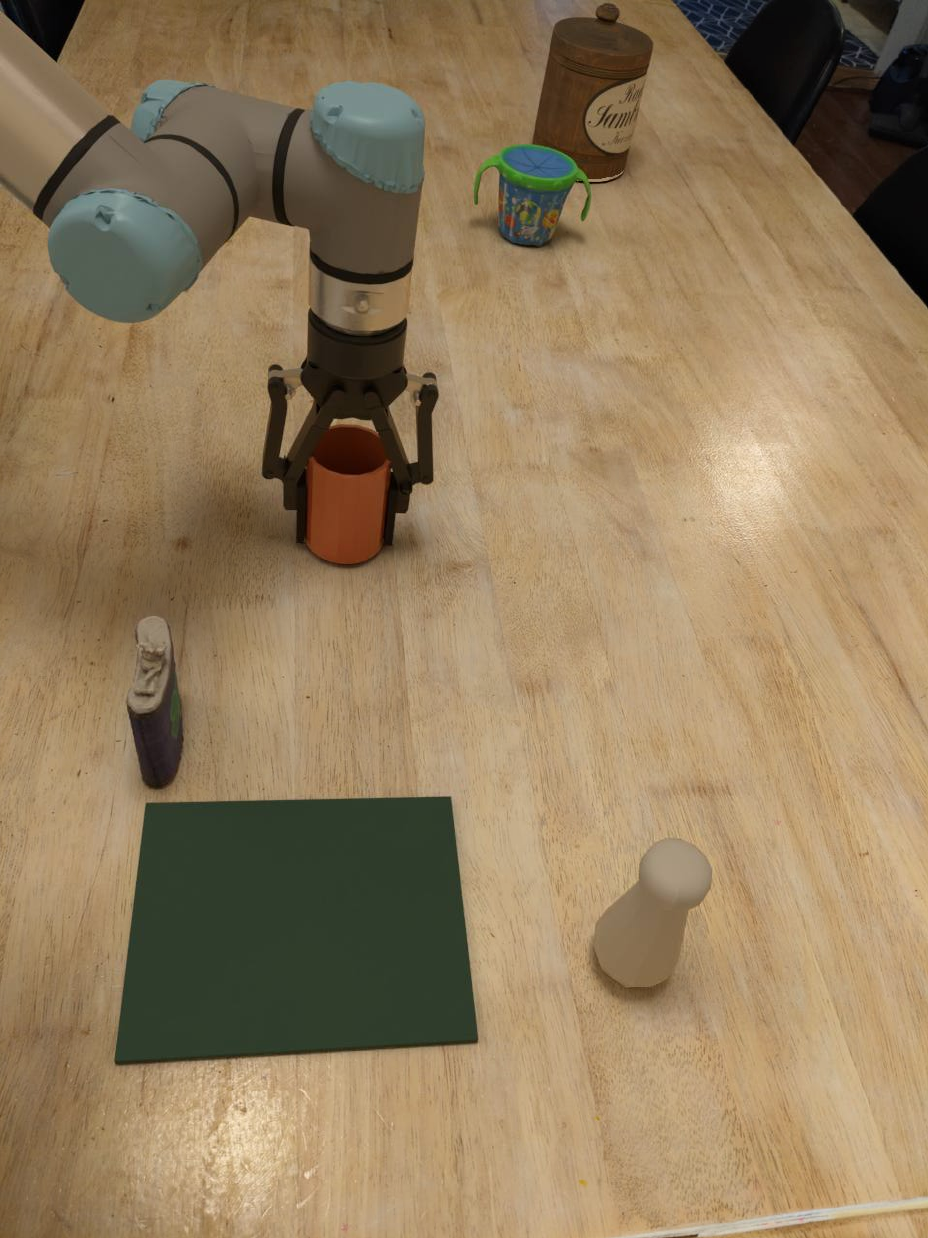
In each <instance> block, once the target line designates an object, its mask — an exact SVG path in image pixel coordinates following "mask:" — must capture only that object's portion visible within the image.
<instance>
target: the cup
mask: <svg viewBox="0 0 928 1238" xmlns="http://www.w3.org/2000/svg"><path fill="white" fill-rule="evenodd" d="M305 468H306V506H305V543H306V545H307V547H308V548H309V550H310V551H311V552H312V553H313V554H314V555H315V556H317V557H319V558H320V559H323V560H325V561H327V562H331V563H334V564H342V565H353V564H359V563H362V562H365V561H367V560H370V559H371V558H373V557H374V556H375V555H376V554H377V553H378V552H379V551H380V550H381V548H382V546H383V545H384V533H385V524H386V514H387V504H388V494H389V485H390V475H391V471H392V468H391V465H390V461H389V460H388V458H387V455H386V452H385V450H384V447H383V445H382V442H381V439H380V437H379V434H378V432H376V430H374V429H372V428H369V427H366V426H363V425H358V424H350V423H349V424H347V423H346V424H345V423H339V424H333V425H330V427H329V429H328V430H325V432H324V434H323V436H322V438H321V440H320V441H319V443H318V445H317V447H316V449H315V451H314V453H313V454H312V456H311V458H309V462H308V464H307V466H306V467H305Z"/></svg>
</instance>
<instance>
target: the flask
mask: <svg viewBox="0 0 928 1238" xmlns="http://www.w3.org/2000/svg"><path fill="white" fill-rule="evenodd" d="M134 632H135V634H134V637H135V641H136V642H135V643H136V644H135V648H136V649H137V653H136V663H135V672H134V676H133V680H132V683H131V686H130V688H129V690H128V692H127V696H126V699H125V703H126V710H127V713H128V719H129V723H130V728H131V731H132V736H133V743H134V747H135V752H136V755H137V760H138V764H139V769H140V775H141V777H140V779H141V781H142V782H143V784H145V786H147V787H148V790H151V789H155V790H157V789H160V790H161V789H164V788H166V787H169V786H170V785H171V784H172V782H173V781H174V780H175V777H176V776H177V774H178V771H179V766H180V762H181V760H182V754H183V749H184V746H183V745H184V733H183V731H184V730H183V729H184V727H183V710H182V701H181V697H180V691H179V684H178V676H177V670H176V661H175V652H174V643H173V639H172V638H173V637H172V633H171V626H170V625H169V622H168V621H167V620H166V619H165V618H163V617H160V616H156V615H150V616H147V617H144V618H142V619H140V620H138V621H137V623H136V626H135V629H134Z"/></svg>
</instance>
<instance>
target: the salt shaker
mask: <svg viewBox="0 0 928 1238" xmlns="http://www.w3.org/2000/svg"><path fill="white" fill-rule="evenodd" d="M637 877H638V880H637V881H636V882H635V883H634V884H633V885H632V886H630V888H628V890H627V891H625V892H624V893H623V894H622V895H621V896H620V897H619V898H617V899H616V900H615V901H614V902H613V903H612V904H611V905H610V906H608V907H607V908H606V909H605V911H603V913H601V915H600V917H599V918H598V920H597V921H596V922H595V924H594V934H593V944H592V945H593V948H594V951H595V954H596V957H597V961H598V963H599V966H600V968H601V970H602V972H603V973H605V974H606V975H607V976H608V977H610V978H611V979H613V980H614V981H615V982H616V983H618V984H619V985H621V986H622V987H623V988H624V989H628V988H652V987H654V986H655V985H658V984H659V983H662V982H664V981H665V980H667V979H668V978H670V976H671V975H672V973H673V972H674V970H675V968H676V967H677V965H678V964H679V961H680V958H681V957H680V956H681V952H682V951H681V950H682V947H683V946H682V945H683V940H684V937H685V932H686V925H687V921H688V916H689V911H690V910H692V909H694V908H697V907H700V905H701V904H702V902H703V901H704V900H705V898H706V896H707V895H708V893H709V891H711V887H712V884H713V867H712V866H711V863H710V862H709V860H708V857H707V855H706V854H705V853H703V851H701V849H700V848H699V847H697V846H696V845H695V844H694V843H692V842H689V841H687V840H685V839H682V838H675V837H673V838H672V837H665V838H663V839H661V840H658V841H656V842H654V843H652V844H651V845H650V846H649V847H648V848H647V850H646V851H645V852H644V854H643V855H642V856H641V858H640V861H639V864H638V876H637Z"/></svg>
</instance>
